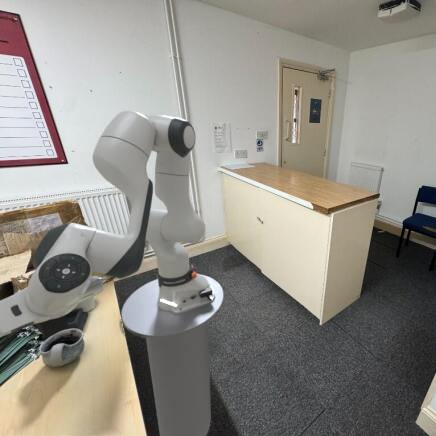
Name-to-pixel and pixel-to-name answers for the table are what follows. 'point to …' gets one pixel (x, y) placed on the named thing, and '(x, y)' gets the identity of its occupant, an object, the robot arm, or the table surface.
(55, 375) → the table surface
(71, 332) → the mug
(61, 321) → the teal and black block
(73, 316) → the black open tray
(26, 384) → the table surface
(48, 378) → the table surface
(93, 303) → the cup
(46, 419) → the table surface
